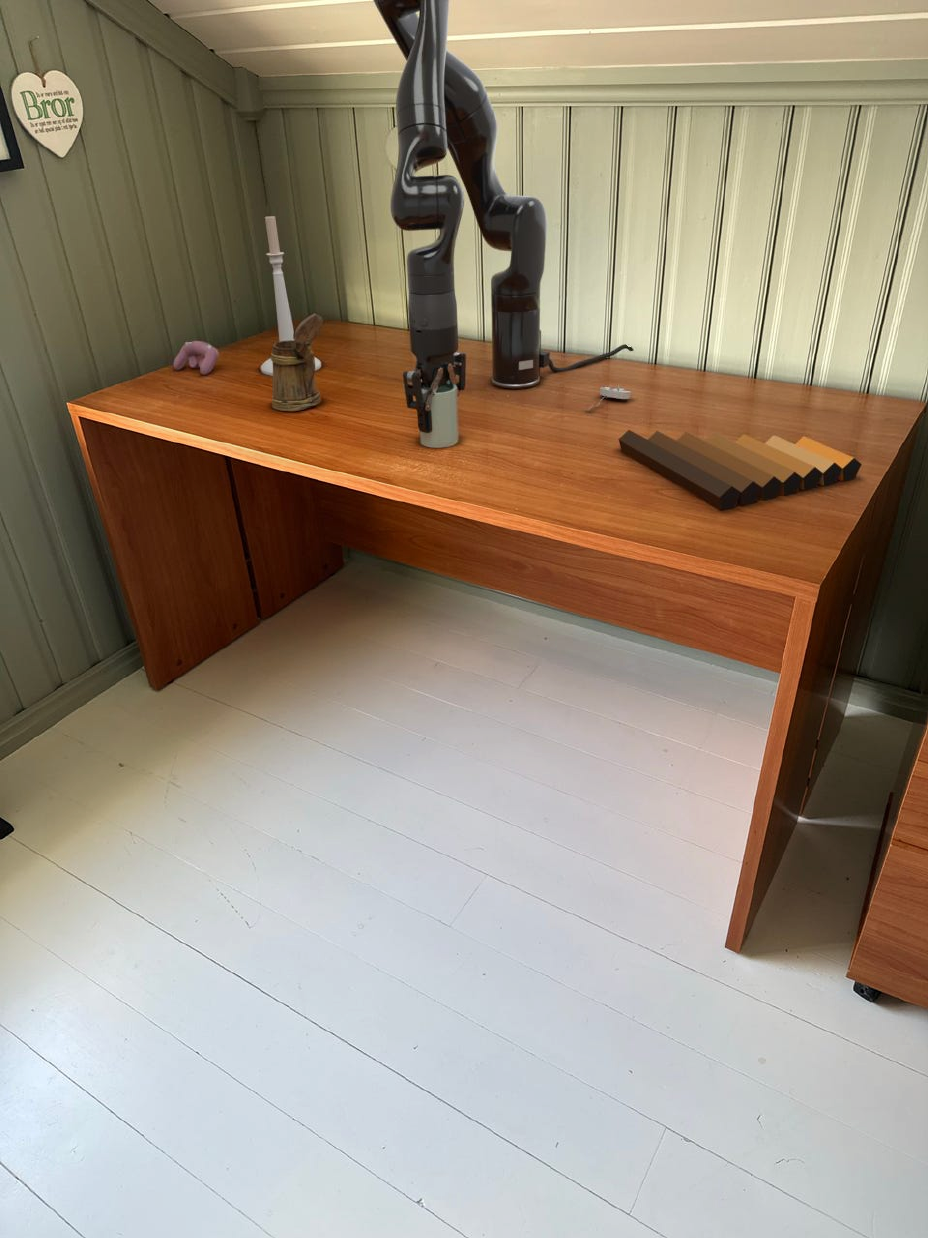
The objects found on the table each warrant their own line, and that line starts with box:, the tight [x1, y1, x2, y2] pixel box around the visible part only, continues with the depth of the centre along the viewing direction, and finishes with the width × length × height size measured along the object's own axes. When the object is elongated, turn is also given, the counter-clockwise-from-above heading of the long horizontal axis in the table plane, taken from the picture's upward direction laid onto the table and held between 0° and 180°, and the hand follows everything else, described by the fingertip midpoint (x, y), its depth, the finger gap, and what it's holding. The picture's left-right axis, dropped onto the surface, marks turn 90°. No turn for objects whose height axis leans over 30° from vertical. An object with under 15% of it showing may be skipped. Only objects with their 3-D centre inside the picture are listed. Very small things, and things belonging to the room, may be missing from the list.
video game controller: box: [172, 340, 220, 376], centre depth 180 cm, size 10×5×7 cm, turn 58°
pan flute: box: [618, 429, 862, 512], centre depth 127 cm, size 25×3×25 cm
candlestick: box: [260, 214, 322, 377], centre depth 173 cm, size 13×13×30 cm
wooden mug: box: [270, 311, 324, 412], centre depth 153 cm, size 9×14×18 cm, turn 47°
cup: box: [418, 385, 460, 449], centre depth 138 cm, size 6×6×9 cm
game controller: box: [587, 384, 632, 413], centre depth 153 cm, size 6×12×3 cm, turn 158°
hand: (438, 424), depth 139 cm, fingers closed on cup, 6 cm apart
